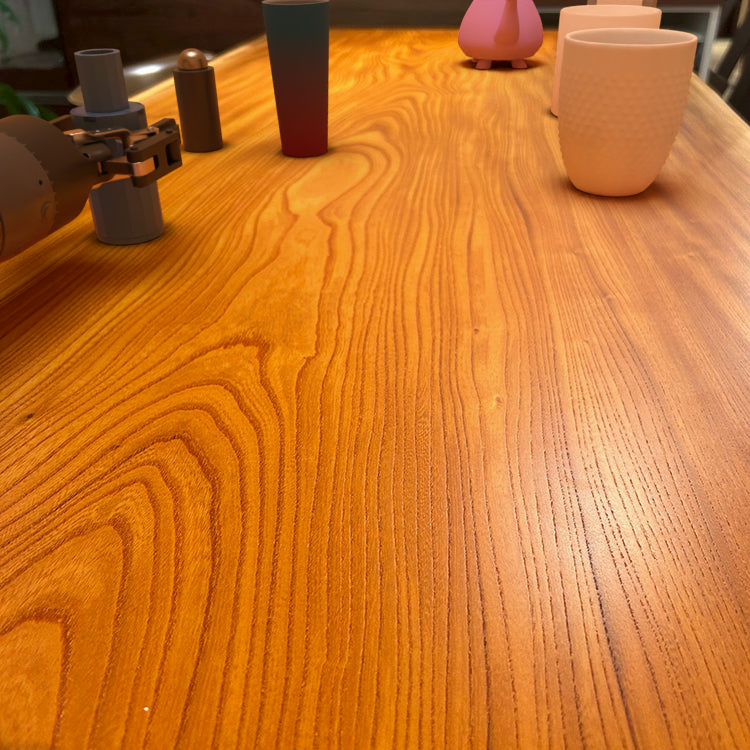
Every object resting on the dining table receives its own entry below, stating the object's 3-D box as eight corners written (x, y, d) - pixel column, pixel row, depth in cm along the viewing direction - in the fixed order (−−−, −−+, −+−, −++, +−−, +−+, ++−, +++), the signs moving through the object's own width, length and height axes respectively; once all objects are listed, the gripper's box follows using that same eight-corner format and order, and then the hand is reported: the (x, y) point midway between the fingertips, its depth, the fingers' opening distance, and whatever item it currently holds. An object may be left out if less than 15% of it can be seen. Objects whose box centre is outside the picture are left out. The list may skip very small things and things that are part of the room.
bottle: (84, 242, 62) (43, 57, 55) (117, 220, 67) (82, 46, 60) (146, 246, 61) (112, 58, 54) (175, 223, 66) (147, 46, 59)
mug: (540, 158, 81) (553, 22, 74) (648, 159, 80) (671, 21, 73) (555, 204, 68) (572, 45, 62) (684, 206, 67) (715, 44, 61)
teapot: (553, 74, 122) (561, -14, 116) (463, 76, 122) (466, -12, 116) (531, 54, 139) (537, -23, 133) (452, 56, 139) (455, -22, 133)
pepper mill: (177, 151, 86) (162, 51, 81) (193, 141, 90) (180, 45, 85) (214, 152, 85) (201, 52, 80) (228, 142, 89) (217, 45, 84)
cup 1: (297, 163, 81) (286, 5, 74) (262, 150, 86) (248, 1, 78) (348, 151, 85) (343, 0, 77) (312, 139, 90) (304, -4, 82)
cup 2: (532, 109, 101) (540, 8, 95) (601, 100, 105) (613, 2, 99) (592, 128, 92) (606, 17, 86) (665, 116, 96) (683, 10, 90)
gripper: (88, 134, 45) (200, 81, 58) (-123, 126, 47) (32, 77, 61) (113, 255, 49) (213, 179, 62) (-83, 242, 51) (54, 172, 65)
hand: (123, 129), depth 62 cm, fingers open, 8 cm apart
